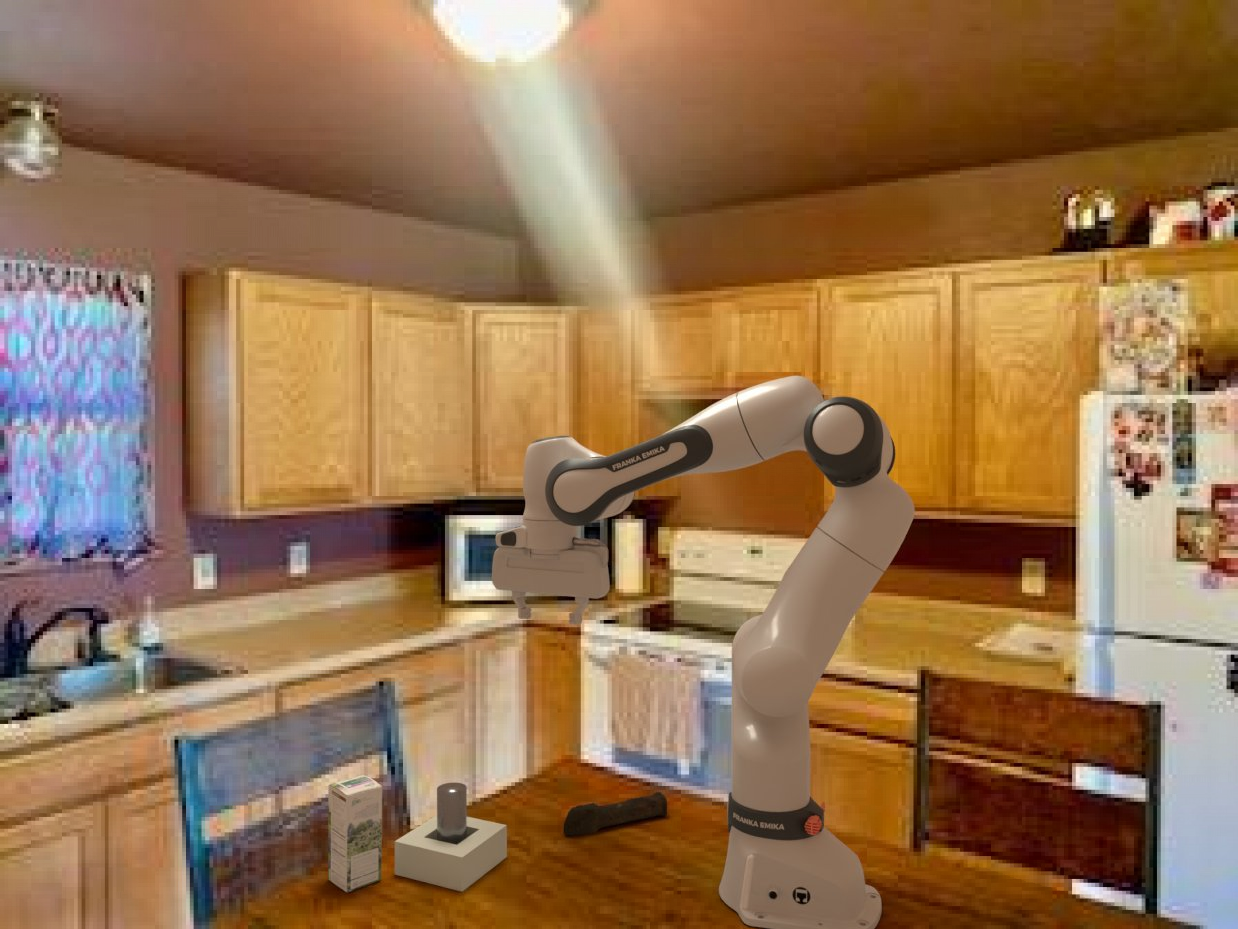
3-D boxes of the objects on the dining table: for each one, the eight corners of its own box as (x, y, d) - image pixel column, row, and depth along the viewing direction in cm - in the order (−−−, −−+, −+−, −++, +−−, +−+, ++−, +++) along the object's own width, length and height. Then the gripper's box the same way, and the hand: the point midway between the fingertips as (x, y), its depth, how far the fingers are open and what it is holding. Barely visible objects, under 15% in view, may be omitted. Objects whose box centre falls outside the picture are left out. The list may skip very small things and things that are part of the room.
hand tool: (657, 811, 161) (657, 784, 161) (668, 819, 158) (668, 792, 158) (557, 832, 153) (557, 804, 153) (567, 841, 149) (567, 813, 149)
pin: (472, 863, 141) (472, 785, 141) (455, 875, 137) (455, 795, 137) (448, 857, 143) (448, 780, 142) (431, 869, 139) (430, 790, 138)
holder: (506, 857, 143) (506, 825, 143) (462, 891, 132) (462, 857, 132) (442, 842, 148) (442, 811, 148) (394, 874, 137) (394, 841, 137)
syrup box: (362, 867, 139) (362, 772, 139) (383, 881, 135) (382, 783, 135) (327, 880, 135) (326, 782, 135) (347, 895, 131) (346, 794, 131)
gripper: (616, 537, 148) (616, 623, 148) (507, 531, 157) (507, 612, 157) (599, 541, 142) (598, 631, 143) (486, 535, 151) (486, 619, 151)
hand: (549, 621), depth 150 cm, fingers open, 8 cm apart
